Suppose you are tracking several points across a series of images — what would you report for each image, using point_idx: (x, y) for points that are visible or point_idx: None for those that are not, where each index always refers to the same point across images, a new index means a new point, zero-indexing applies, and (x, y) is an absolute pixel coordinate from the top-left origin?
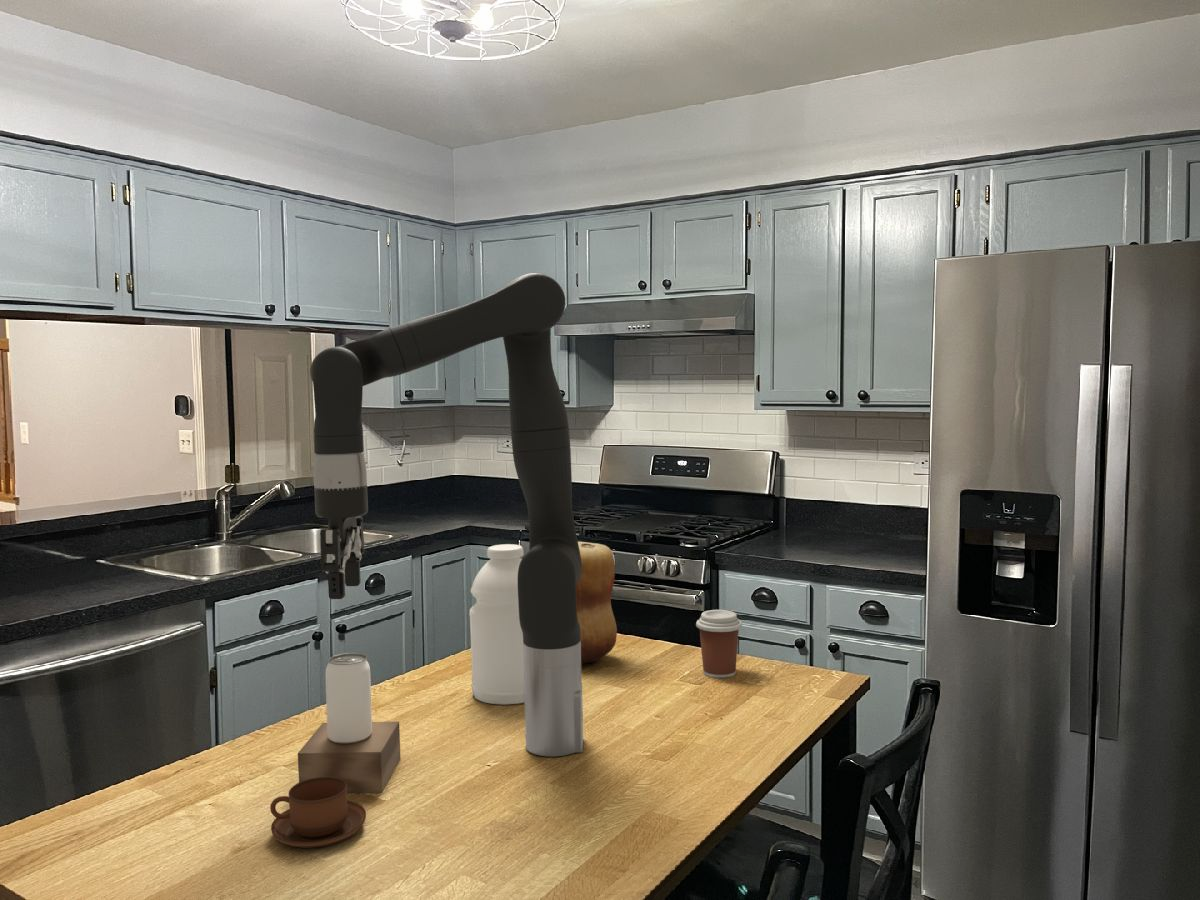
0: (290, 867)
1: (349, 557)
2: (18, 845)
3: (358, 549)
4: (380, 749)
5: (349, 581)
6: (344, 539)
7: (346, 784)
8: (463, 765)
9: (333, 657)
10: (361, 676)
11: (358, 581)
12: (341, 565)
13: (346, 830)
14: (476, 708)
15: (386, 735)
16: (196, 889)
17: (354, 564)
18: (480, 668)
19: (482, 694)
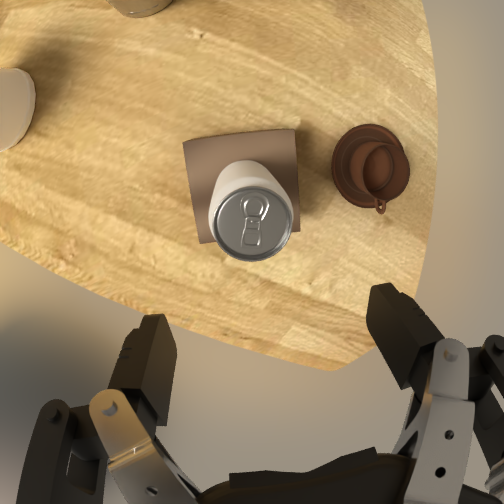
0: (413, 170)
1: (433, 397)
2: (358, 354)
3: (161, 454)
4: (286, 132)
5: (170, 351)
6: (463, 496)
7: (379, 145)
8: (203, 61)
9: (242, 257)
10: (273, 180)
11: (159, 323)
12: (468, 364)
13: (368, 140)
14: (44, 120)
15: (236, 140)
16: (429, 224)
17: (150, 392)
18: (6, 126)
19: (26, 121)
